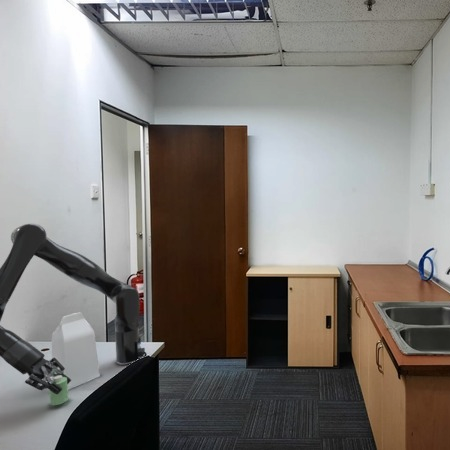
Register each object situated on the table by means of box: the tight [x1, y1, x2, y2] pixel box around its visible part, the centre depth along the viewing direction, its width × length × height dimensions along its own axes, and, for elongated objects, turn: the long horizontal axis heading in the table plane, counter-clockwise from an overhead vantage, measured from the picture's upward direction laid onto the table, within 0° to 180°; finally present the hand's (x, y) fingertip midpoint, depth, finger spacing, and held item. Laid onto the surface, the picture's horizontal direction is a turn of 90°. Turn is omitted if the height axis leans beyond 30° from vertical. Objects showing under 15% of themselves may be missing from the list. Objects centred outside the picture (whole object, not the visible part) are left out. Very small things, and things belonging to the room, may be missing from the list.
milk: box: [51, 311, 101, 391], centre depth 130 cm, size 12×12×26 cm
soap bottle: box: [48, 375, 69, 406], centre depth 115 cm, size 5×5×8 cm
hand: (64, 387), depth 115 cm, fingers closed on soap bottle, 5 cm apart
